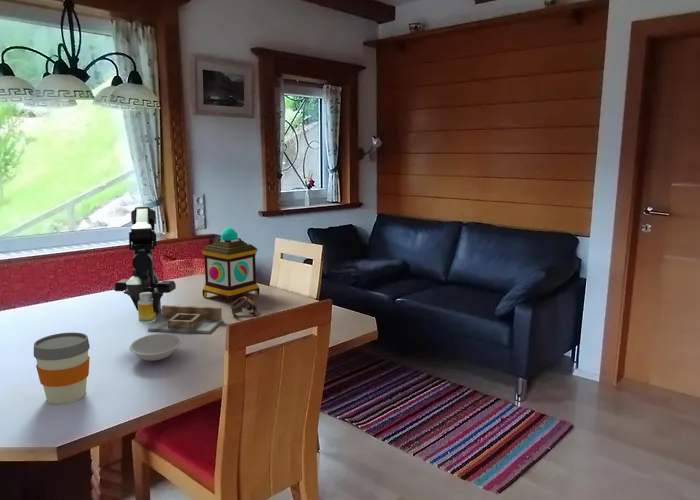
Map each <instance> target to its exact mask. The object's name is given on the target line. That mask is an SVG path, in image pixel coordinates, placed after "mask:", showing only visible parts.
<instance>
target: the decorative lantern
mask: <svg viewBox="0 0 700 500" xmlns="http://www.w3.org/2000/svg"><path fill="white" fill-rule="evenodd" d="M257 252H258V248H257V247H256V246H253V244H249V243H247V242H245V241H244V240H242V238H240V237H238V232H237V231H236V229H233V228H232V227H227V228H225V229H223V231H221V234H220V238H217V240H216V241H214V242H213V243H212V244H209V245H206V246H204V247H203V249H201V253H202V254H203V256H204V257H203V258H204V277H205V282H204V283H205V284H204V286H203V288H202V291H201V292H202V293H201V294H202V297H204V298H207V296H208V293H209V294H213V295H217V296H221V297H226V298H227V302H228V304H229V305H232V303H233V302H232V300H233V298H234V297H237V296H240V295H243V294H247V293H252V292H254V294H255V295H256V296H257V297H258V296H259V295H260V287H259V285H258V283H257V277H256V275H257V272H256V268H257V267H256V266H257V265H256V254H257Z"/></svg>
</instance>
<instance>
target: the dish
mask: <svg viewBox="0 0 700 500" xmlns="http://www.w3.org/2000/svg"><path fill="white" fill-rule="evenodd" d="M180 344H181V338H180V337H178V336H177V335H174V334H169V333H156V334H151V335H150V334H148V335H146V336H143V337H140V338H138V339H135V340H134V341H133V342H132V343H131V344H130V345H129V351H130V352H131V353H133V354H134V355H135V356H137V357H138V358H140V359H143V360H145V361H152V362H153V361H159V360H162V359H165V358H167V357H169V356H170V355H172V353H174V352H175V350H176V349H177V348H178V347H179V346H180Z"/></svg>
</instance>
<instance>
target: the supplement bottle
mask: <svg viewBox="0 0 700 500" xmlns="http://www.w3.org/2000/svg"><path fill="white" fill-rule="evenodd" d="M139 298H140V300H138V311H137V314H138V315H137V316H138V322H139V323H140V324H151V323H154V322H155V321H156V320H157V319H156V318H157V314H155V312H154V309H153V298H152V294H151V292H143V293H140V294H139Z"/></svg>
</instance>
